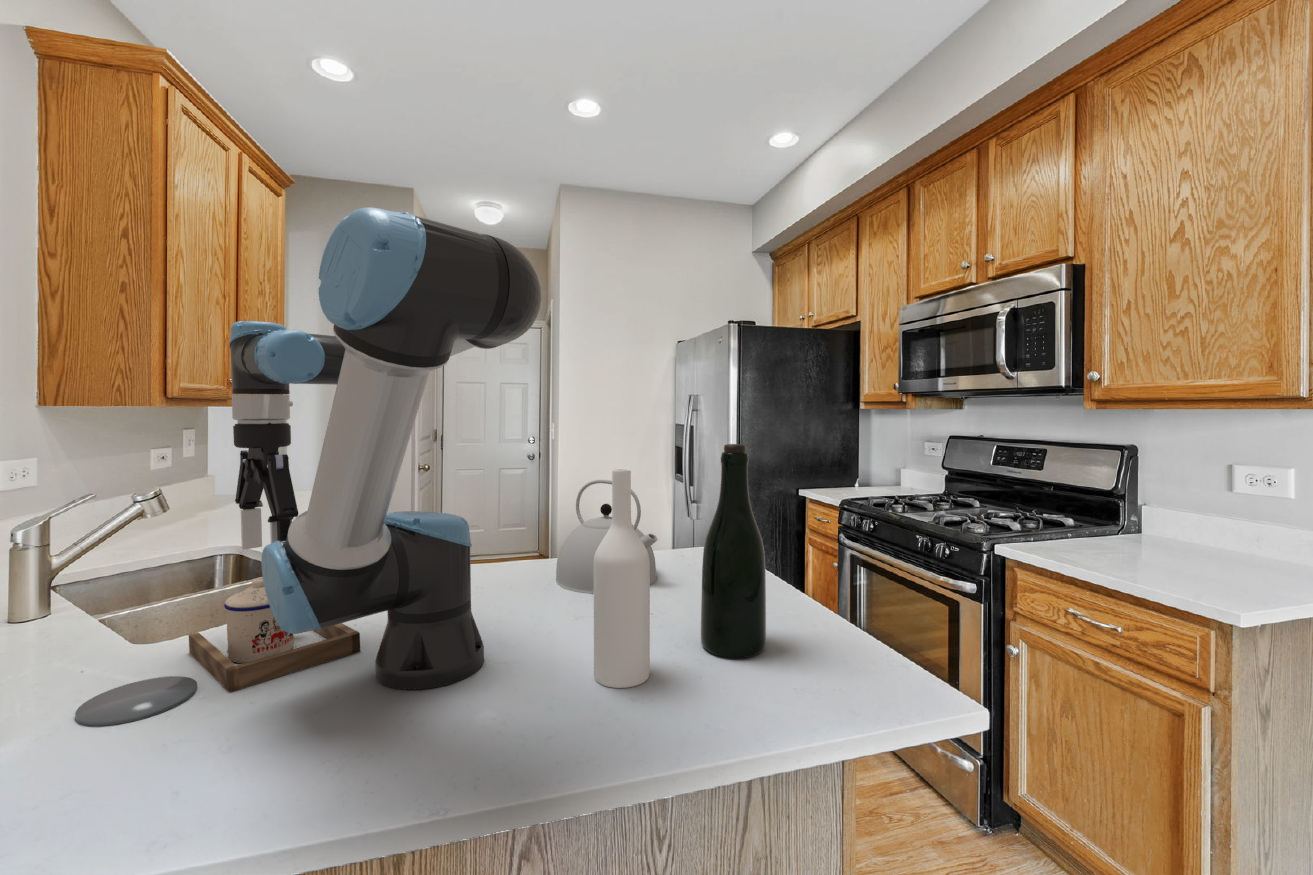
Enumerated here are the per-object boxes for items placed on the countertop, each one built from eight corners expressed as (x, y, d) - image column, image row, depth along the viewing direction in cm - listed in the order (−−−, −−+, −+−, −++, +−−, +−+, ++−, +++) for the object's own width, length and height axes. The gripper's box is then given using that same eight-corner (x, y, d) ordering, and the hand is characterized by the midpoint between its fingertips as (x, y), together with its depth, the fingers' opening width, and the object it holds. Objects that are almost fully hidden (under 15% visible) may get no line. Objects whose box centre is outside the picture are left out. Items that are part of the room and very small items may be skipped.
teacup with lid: (256, 668, 87) (253, 591, 87) (211, 660, 90) (208, 585, 89) (323, 638, 99) (321, 569, 98) (282, 631, 101) (280, 565, 101)
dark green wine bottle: (687, 646, 95) (688, 444, 94) (727, 629, 103) (728, 441, 101) (739, 666, 88) (741, 447, 86) (778, 646, 95) (781, 444, 94)
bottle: (638, 659, 90) (638, 465, 89) (657, 682, 83) (658, 471, 81) (587, 668, 87) (586, 467, 86) (602, 692, 80) (601, 473, 78)
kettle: (683, 575, 136) (683, 478, 134) (626, 603, 117) (626, 490, 115) (597, 560, 149) (597, 472, 148) (534, 583, 130) (533, 481, 129)
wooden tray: (360, 651, 93) (359, 632, 93) (229, 692, 80) (228, 670, 80) (309, 621, 106) (308, 605, 106) (189, 652, 93) (188, 634, 92)
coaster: (208, 698, 78) (208, 694, 78) (83, 737, 69) (83, 732, 69) (184, 672, 86) (184, 668, 86) (69, 704, 77) (68, 700, 77)
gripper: (320, 423, 87) (324, 564, 89) (262, 419, 103) (265, 538, 104) (262, 425, 82) (267, 575, 83) (210, 420, 97) (214, 546, 99)
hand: (266, 555), depth 94 cm, fingers open, 13 cm apart
